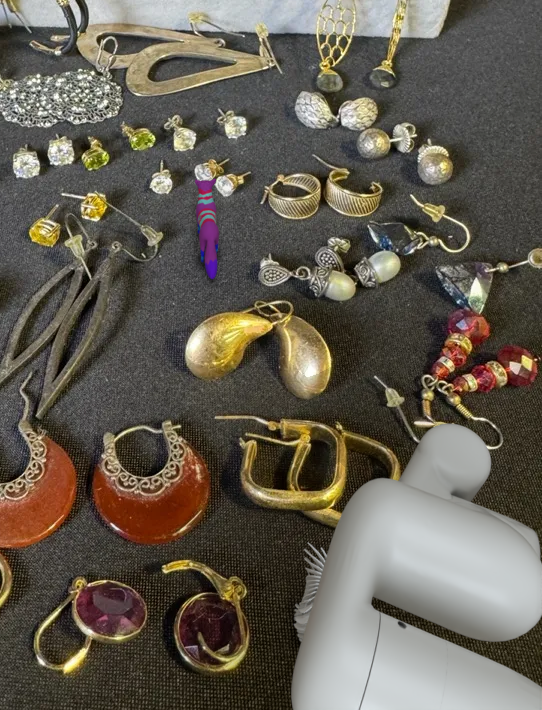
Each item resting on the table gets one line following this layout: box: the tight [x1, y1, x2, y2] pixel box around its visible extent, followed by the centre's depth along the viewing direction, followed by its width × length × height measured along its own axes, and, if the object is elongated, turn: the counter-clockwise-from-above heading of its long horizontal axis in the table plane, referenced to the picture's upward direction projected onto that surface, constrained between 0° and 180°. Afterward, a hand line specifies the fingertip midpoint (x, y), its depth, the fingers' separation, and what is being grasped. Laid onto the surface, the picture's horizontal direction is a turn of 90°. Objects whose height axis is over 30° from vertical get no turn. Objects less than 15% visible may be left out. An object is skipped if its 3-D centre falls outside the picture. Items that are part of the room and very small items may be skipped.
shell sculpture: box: [293, 541, 374, 643], centre depth 96 cm, size 8×8×18 cm
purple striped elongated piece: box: [194, 178, 220, 280], centre depth 140 cm, size 4×18×10 cm, turn 4°
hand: (394, 553), depth 108 cm, fingers closed
